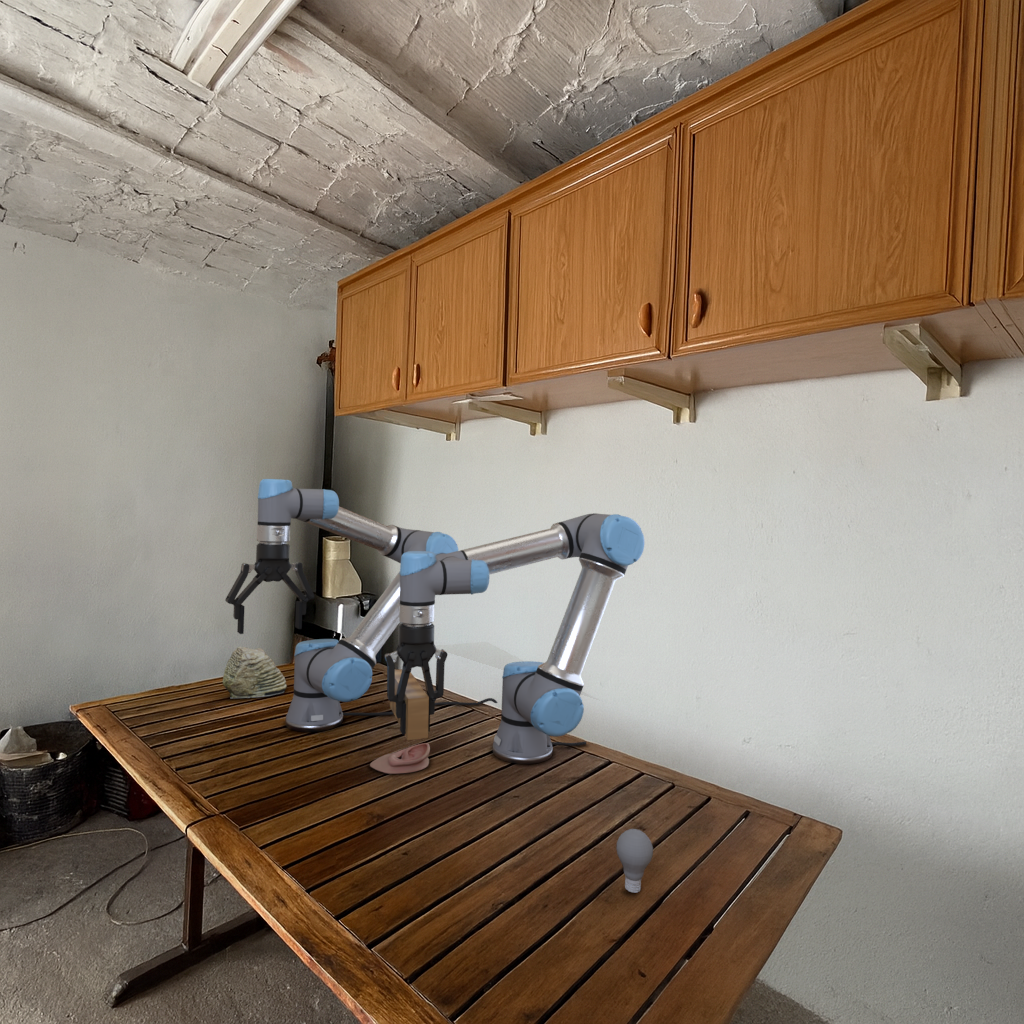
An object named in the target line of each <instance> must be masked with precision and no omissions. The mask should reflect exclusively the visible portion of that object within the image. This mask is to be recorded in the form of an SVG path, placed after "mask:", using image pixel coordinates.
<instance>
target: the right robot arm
mask: <svg viewBox="0 0 1024 1024" xmlns="http://www.w3.org/2000/svg"><path fill="white" fill-rule="evenodd" d="M644 550H645V535H644V533H643V531H642V528H641V526H640V525H639V524H638V523H637V521H636V520H634V519H633V518H631V517H629V516H626V515H621V514H618V513H617V514H616V513H613V514H606V513H596V512H595V513H587V514H583V515H580V516H577V517H572V518H569V519H566V520H563V521H559V522H554V523H552V524H551V526H550V528H547V529H542V530H539V531H534V532H530V533H526V534H522V535H518V536H513V537H510V538H506V539H502V540H497V541H493V542H489V543H485V544H481V545H476V546H472V547H468V548H464V549H461V550H458V551H456V552H451V553H447V554H446V553H437V554H435V553H433V552H429V551H409V552H405V553H404V554H403V555H402V556H401V563H400V565H399V571H400V573H399V572H398V573H399V574H400V609H399V621H400V623H399V626H398V645H397V647H396V650H394V651H393V652H390V653H389V652H385V653H384V660H385V662H386V697H387V699H388V701H389V702H390V701H391V702H396V716H397V718H400V725H399V731H400V733H401V735H404V734H406V703H405V701H404V700H403V699H404V695H405V691H406V687H407V683H408V679H409V675H410V672H411V673H412V669H413V668H417V667H418V668H421V671H422V676H423V681H424V686H425V690H426V691H425V692H426V694H427V695H428V697H429V718H428V733H429V732H430V731H431V715H432V716H433V715H434V714H435V712H436V710H435V709H436V706H435V703H436V701H437V699H438V698H443V696H444V695H445V694H444V693H445V692H444V691H445V666H446V665H445V662H446V660H447V658H448V655H449V654H448V652H447V651H446V650H445V649H443V648H442V649H440V648H437V647H436V645H435V625H434V622H435V608H436V607H435V606H436V605H435V604H436V596H444V595H474V594H482V593H485V592H486V591H487V590H488V588H489V584H490V575H494V574H498V573H502V572H504V571H508V570H513V569H517V568H520V567H524V566H527V565H533V564H536V563H539V562H540V563H541V562H543V561H547V560H551V559H555V558H558V559H560V560H567V559H572V558H578V561H579V563H580V566H581V570H580V572H579V575H578V577H577V580H576V583H575V585H574V588H573V591H572V594H571V596H570V599H569V602H568V604H567V607H566V609H565V612H564V615H563V618H562V620H561V622H560V625H559V628H558V631H557V633H556V636H555V638H554V642H553V644H552V647H551V649H550V652H549V654H548V657H547V660H546V661H545V662H543V661H532V660H530V661H527V660H525V661H522V660H521V661H513V662H508V663H507V664H505V665H504V666H503V671H502V677H501V679H502V687H501V688H502V689H501V714H500V715H501V717H500V723H499V726H498V728H497V731H496V734H495V735H494V737H493V742H492V753H493V755H494V756H495V757H496V758H498V759H500V760H502V761H504V762H508V763H510V764H511V763H512V764H520V765H534V764H539V763H543V762H546V761H548V760H549V759H551V758H552V756H553V746H560V747H578V746H580V747H581V746H586V745H587V741H579V742H561V741H552V739H551V737H554V738H555V737H556V738H557V737H563V736H565V735H567V734H570V733H571V732H573V731H574V730H575V729H576V728H577V727H578V726H579V724H580V723H581V721H582V718H583V716H584V711H585V710H584V708H585V706H584V703H583V699H582V697H581V695H582V691H583V690H584V689H583V688H584V686H585V683H584V681H583V678H582V672H583V670H584V667H585V664H586V662H587V659H588V656H589V653H590V651H591V648H592V646H593V643H594V640H595V638H596V635H597V632H598V630H599V627H600V624H601V622H602V621H601V620H602V618H603V616H604V613H605V610H606V608H607V605H608V602H609V600H610V597H611V594H612V592H613V589H614V586H615V584H616V581H618V580H620V579H622V578H624V577H625V575H626V572H627V570H628V567H629V566H630V565H634V563H636V562H638V561H639V559H640V558H641V557H642V555H643V553H644ZM434 655H435V656H434ZM398 657H399V658H400V660H401V661H402V666H401V669H402V673H401V677H400V681H399V685H398V689H397V693H396V695H395V670H396V668H395V667H396V666H395V663H397V658H398ZM433 657H435V659H436V663H435V665H436V668H435V689H434V684H433V680H432V675H431V668H430V663H429V662H430V661H431V660H432V658H433Z"/></svg>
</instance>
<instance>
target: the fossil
mask: <svg viewBox="0 0 1024 1024" xmlns="http://www.w3.org/2000/svg"><path fill="white" fill-rule="evenodd" d="M222 676H223V677H222V685H223V687H224V688H225V690H226V691H228V693H229V698H230V699H250V698H264V697H271V696H275V695H281V694H284V693H285V691H286V689H287V687H288V686H287V680H286V678H285V676H284V674H283V673H282V672H281V669H279V668H278V667H277V665H276V663H275V662H274V660H273V659H272V658H271V657H270V656H269V655H268V654H267V653H266V652H265V650H264V649H263V648H260V647H258V648H251V647H247V646H246V647H245V646H238V647H237V648H236V649H235V650H233V651H232V653H231V656H230V657H229V659H228V660H227V663H226V666H225V668H224V671H223V675H222Z"/></svg>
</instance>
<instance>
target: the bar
mask: <svg viewBox="0 0 1024 1024" xmlns="http://www.w3.org/2000/svg"><path fill="white" fill-rule="evenodd" d="M401 673H402V668H400V669H395V695H396V693H397V689H398V685H399V681H400V677H401ZM403 700H404V701H405V703H406V734H403V735H404V737H405V738H406V740H407V741H414V740H422V739H428V738H429V732H428V718H429V697H428V695H427V691H425V689H424V688H423V687H422V686H421V684H420V683H419V681H418V680H417V678H416V677H415V676H414V674H413V673H412V671H411V672H410V675H409V679H408V683H407V687H406V691H405V695H404V699H403ZM389 707H390V710H391V712H393V713H394V715H393V716H394V718H395V719H396V722H397V723H398V725H399V726H400V718H397V716H396V702H391V701H389Z"/></svg>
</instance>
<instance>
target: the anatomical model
mask: <svg viewBox="0 0 1024 1024" xmlns="http://www.w3.org/2000/svg"><path fill="white" fill-rule="evenodd" d="M430 751H431V745H430V744H429V743H427V742H424V743H423V742H422V743H419V744H415V745H412V746H408V747H406V748H403V749H401V750H397V751H395V752H392V753H387V754H384V755H382V756H380V757H377V758H376V759H374V760H373V761H371V762H370V763H369V767H370V768H372V769H373V770H375V771H378V772H380V773H384V774H389V775H390V774H391V775H392V774H395V775H396V774H409V773H414V772H418V771H421V770H424V769H426V768H427V767H429V764H430V759H429V755H430Z"/></svg>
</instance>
